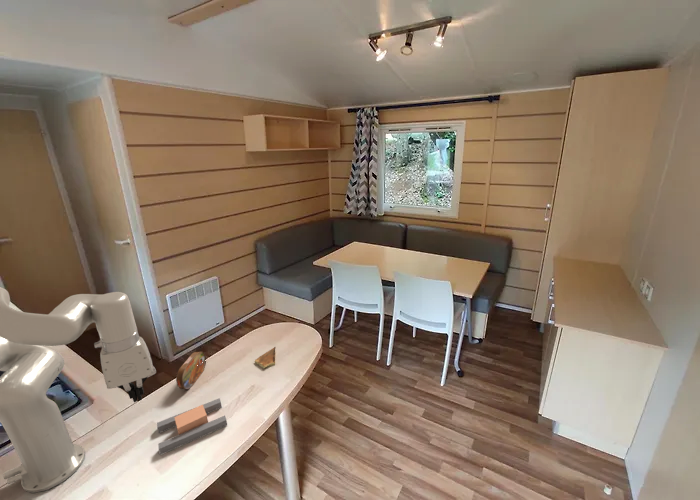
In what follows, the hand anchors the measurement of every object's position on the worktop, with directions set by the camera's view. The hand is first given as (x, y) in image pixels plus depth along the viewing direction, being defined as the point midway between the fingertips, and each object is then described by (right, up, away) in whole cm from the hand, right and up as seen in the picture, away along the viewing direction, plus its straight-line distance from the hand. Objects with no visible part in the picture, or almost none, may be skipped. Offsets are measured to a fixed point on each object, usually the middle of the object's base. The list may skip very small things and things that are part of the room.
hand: (137, 397), depth 86 cm
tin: (0, -8, +31) cm, 32 cm away
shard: (+24, -4, +41) cm, 48 cm away
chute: (+9, -14, +11) cm, 20 cm away
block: (+9, -14, +11) cm, 21 cm away
